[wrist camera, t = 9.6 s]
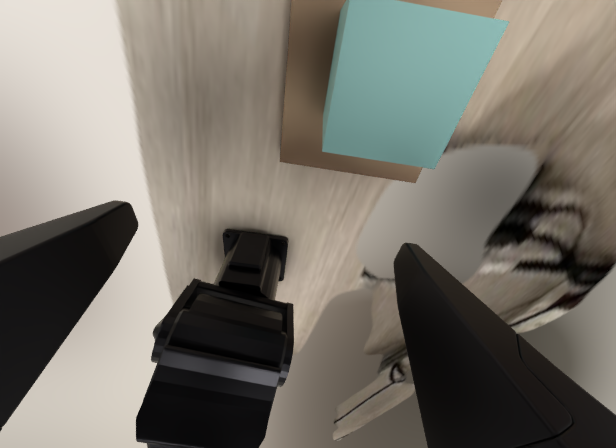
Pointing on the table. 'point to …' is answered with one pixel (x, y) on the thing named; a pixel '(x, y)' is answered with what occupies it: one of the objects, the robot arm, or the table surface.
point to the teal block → (403, 79)
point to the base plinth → (314, 82)
